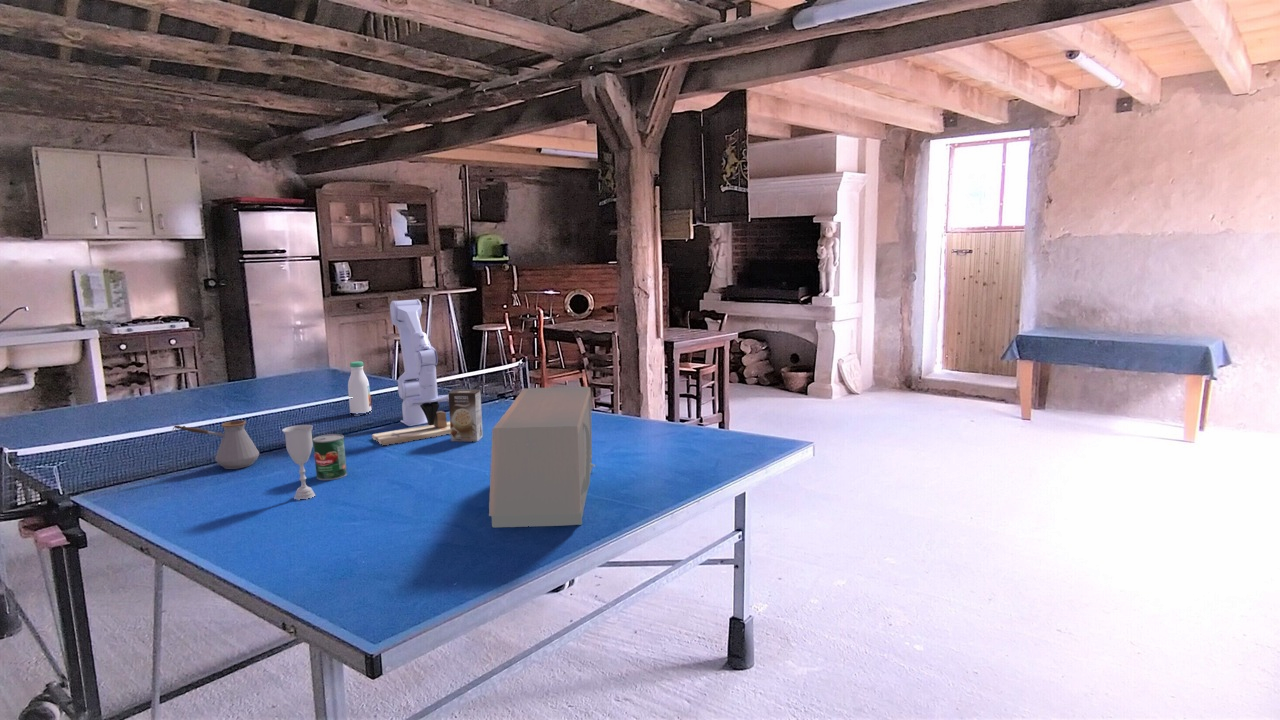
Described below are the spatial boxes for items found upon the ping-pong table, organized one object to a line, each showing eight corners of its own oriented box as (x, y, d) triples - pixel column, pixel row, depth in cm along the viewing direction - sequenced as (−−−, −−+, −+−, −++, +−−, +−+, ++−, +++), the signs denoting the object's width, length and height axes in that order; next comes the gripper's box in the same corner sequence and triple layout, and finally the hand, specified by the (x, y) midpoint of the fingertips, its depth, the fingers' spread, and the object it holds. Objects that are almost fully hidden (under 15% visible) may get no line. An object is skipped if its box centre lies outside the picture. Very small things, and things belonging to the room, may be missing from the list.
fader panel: (372, 438, 247) (372, 434, 246) (453, 424, 263) (452, 420, 263) (383, 446, 237) (383, 441, 237) (466, 431, 253) (466, 426, 253)
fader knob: (434, 425, 254) (433, 412, 254) (442, 424, 256) (441, 410, 255) (438, 428, 251) (437, 414, 251) (446, 426, 253) (445, 412, 252)
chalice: (299, 503, 185) (292, 433, 183) (283, 498, 189) (276, 429, 186) (325, 494, 192) (319, 426, 189) (309, 490, 195) (302, 423, 192)
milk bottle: (367, 415, 281) (362, 363, 278) (347, 416, 281) (342, 364, 278) (374, 411, 289) (370, 360, 286) (355, 411, 289) (350, 360, 286)
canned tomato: (347, 470, 212) (343, 432, 211) (347, 478, 205) (343, 439, 203) (317, 473, 210) (313, 436, 208) (315, 481, 202) (311, 442, 201)
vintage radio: (520, 470, 208) (516, 387, 204) (601, 469, 207) (598, 386, 204) (482, 532, 164) (477, 427, 160) (585, 531, 163) (581, 426, 159)
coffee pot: (252, 457, 228) (247, 409, 226) (266, 464, 220) (260, 415, 218) (173, 473, 213) (166, 422, 211) (184, 482, 205) (177, 429, 203)
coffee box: (450, 441, 240) (446, 393, 238) (456, 436, 246) (453, 389, 244) (477, 441, 239) (474, 392, 237) (483, 436, 245) (480, 388, 243)
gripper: (410, 389, 242) (413, 430, 244) (453, 383, 251) (456, 423, 253) (403, 386, 248) (406, 426, 250) (445, 381, 256) (448, 419, 258)
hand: (431, 424), depth 252 cm, fingers closed
